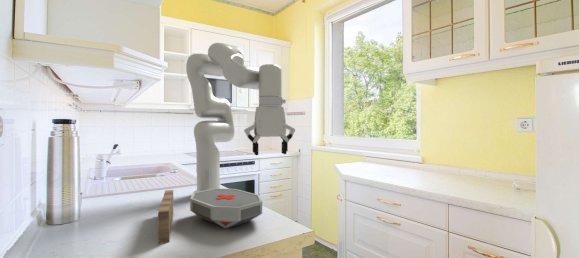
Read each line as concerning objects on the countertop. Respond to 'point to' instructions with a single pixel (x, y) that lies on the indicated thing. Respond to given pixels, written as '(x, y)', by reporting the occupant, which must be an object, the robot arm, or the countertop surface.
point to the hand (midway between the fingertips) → (270, 154)
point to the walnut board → (165, 216)
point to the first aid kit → (226, 206)
